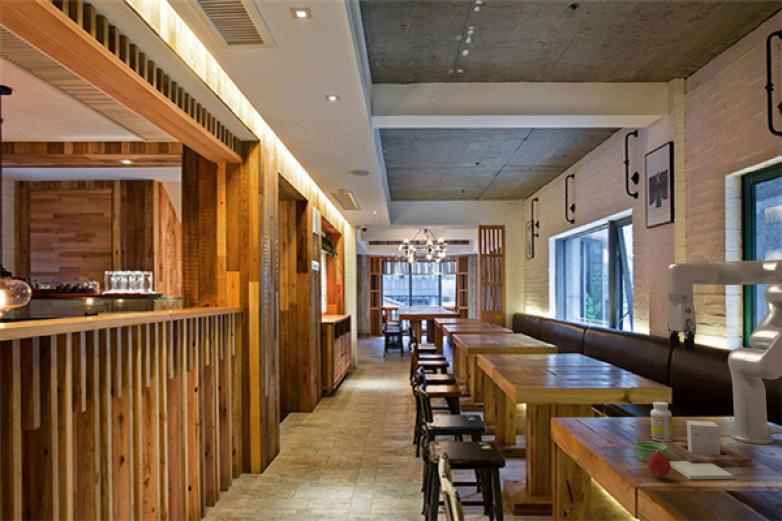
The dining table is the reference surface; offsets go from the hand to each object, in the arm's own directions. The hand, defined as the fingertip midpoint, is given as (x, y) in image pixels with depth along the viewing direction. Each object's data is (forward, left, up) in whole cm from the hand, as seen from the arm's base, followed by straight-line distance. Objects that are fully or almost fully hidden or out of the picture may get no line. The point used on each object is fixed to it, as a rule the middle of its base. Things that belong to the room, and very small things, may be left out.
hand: (681, 348), depth 178 cm
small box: (+2, +13, -33) cm, 35 cm away
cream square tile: (+11, +26, -32) cm, 43 cm away
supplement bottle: (+6, -5, -33) cm, 33 cm away
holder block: (+2, +13, -32) cm, 35 cm away
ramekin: (+19, +15, -33) cm, 41 cm away
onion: (+25, +31, -33) cm, 51 cm away
